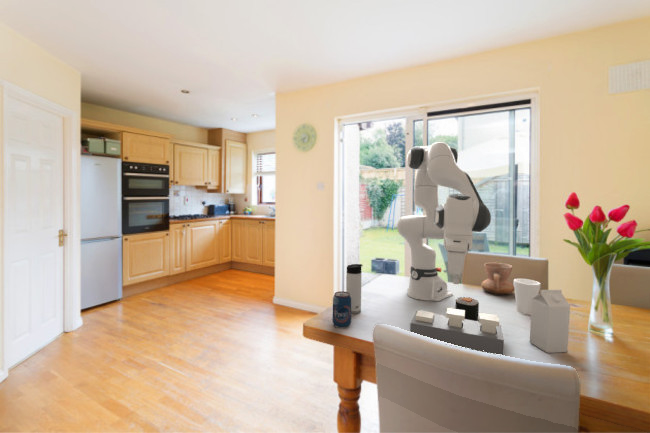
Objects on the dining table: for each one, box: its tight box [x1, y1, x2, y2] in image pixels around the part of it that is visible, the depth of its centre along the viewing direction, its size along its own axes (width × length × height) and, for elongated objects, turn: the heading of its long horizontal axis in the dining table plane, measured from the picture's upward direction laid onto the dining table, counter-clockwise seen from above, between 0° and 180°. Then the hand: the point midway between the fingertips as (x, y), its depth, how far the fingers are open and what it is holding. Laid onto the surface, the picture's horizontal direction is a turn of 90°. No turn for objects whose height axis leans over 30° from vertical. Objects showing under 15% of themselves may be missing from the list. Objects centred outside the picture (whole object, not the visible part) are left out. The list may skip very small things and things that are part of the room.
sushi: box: [454, 296, 480, 321], centre depth 122 cm, size 8×8×8 cm
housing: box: [409, 310, 505, 356], centre depth 105 cm, size 28×12×5 cm, turn 64°
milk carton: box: [529, 289, 571, 354], centre depth 99 cm, size 7×7×19 cm
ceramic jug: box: [481, 261, 515, 296], centre depth 155 cm, size 18×14×14 cm
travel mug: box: [345, 263, 363, 315], centre depth 129 cm, size 6×7×20 cm
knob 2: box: [478, 312, 500, 334], centre depth 101 cm, size 6×6×5 cm
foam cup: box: [513, 278, 541, 316], centre depth 129 cm, size 10×9×13 cm
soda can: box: [332, 290, 352, 329], centre depth 115 cm, size 7×7×12 cm
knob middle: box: [445, 307, 465, 328], centre depth 105 cm, size 6×6×5 cm
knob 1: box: [416, 309, 435, 323], centre depth 109 cm, size 6×6×5 cm
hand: (456, 283), depth 104 cm, fingers closed
